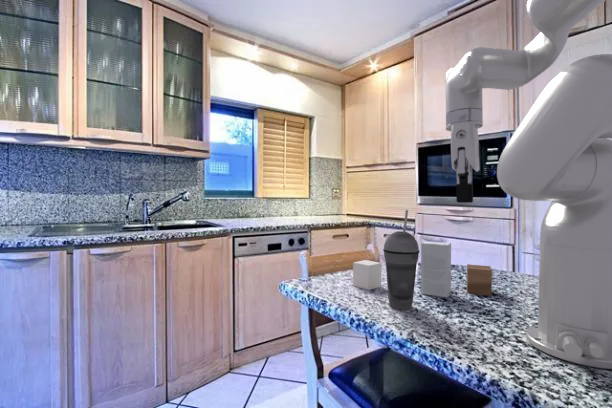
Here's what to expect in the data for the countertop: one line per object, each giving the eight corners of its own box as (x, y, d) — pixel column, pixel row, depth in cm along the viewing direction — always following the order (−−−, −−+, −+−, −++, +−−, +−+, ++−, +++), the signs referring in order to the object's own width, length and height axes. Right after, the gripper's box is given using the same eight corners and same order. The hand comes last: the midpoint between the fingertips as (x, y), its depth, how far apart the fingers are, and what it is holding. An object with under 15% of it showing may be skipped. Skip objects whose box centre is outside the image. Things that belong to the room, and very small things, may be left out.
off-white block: (368, 290, 80) (368, 265, 80) (352, 285, 84) (353, 262, 83) (381, 286, 83) (381, 263, 83) (365, 282, 87) (365, 260, 87)
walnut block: (491, 296, 75) (491, 270, 75) (467, 293, 78) (467, 268, 77) (489, 290, 80) (489, 266, 80) (466, 288, 82) (467, 264, 82)
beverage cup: (394, 298, 73) (395, 208, 72) (425, 306, 68) (426, 209, 67) (375, 306, 68) (376, 209, 67) (408, 315, 63) (409, 210, 62)
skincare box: (451, 293, 77) (452, 242, 77) (448, 298, 73) (449, 245, 73) (424, 289, 80) (425, 240, 80) (420, 294, 77) (420, 242, 76)
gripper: (479, 110, 66) (480, 201, 66) (485, 126, 78) (486, 202, 78) (440, 116, 70) (440, 202, 70) (451, 130, 82) (451, 203, 82)
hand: (464, 202), depth 74 cm, fingers closed
